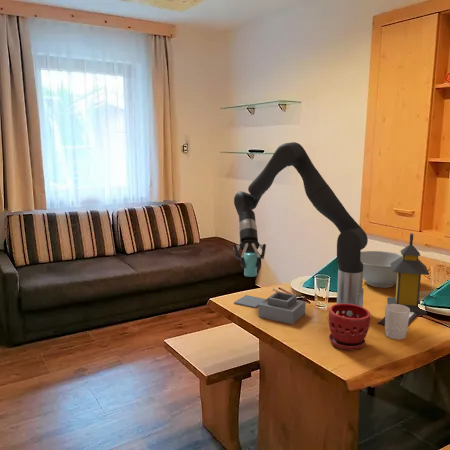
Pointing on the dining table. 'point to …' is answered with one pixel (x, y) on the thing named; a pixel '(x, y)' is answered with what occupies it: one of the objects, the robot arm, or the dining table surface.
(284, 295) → the gray socket block
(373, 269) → the decorative bowl
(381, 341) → the dining table surface
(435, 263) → the dining table surface
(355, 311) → the plant pot
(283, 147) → the robot arm
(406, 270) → the lantern
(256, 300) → the mat
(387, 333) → the white cup
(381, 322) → the chocolate bar
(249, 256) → the teal cylindrical peg
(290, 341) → the dining table surface
